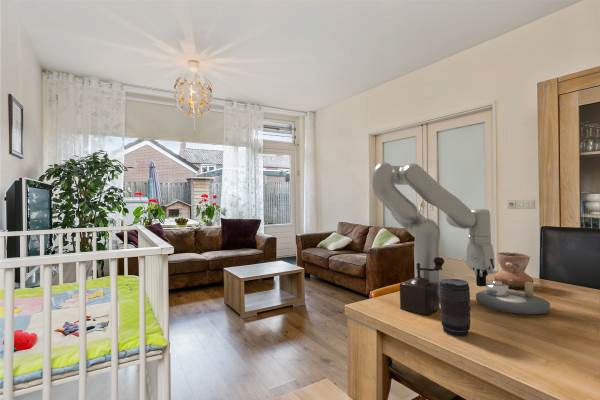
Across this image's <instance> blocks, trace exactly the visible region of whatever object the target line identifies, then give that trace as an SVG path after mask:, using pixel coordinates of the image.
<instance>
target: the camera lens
mask: <svg viewBox="0 0 600 400" xmlns="http://www.w3.org/2000/svg"><path fill="white" fill-rule="evenodd" d="M470 289H471V288H470V285H469V281H467V280H464V279H459V278H443V279H442V278H441V279H440V285H439V293H440V300H439V304H440V321H441V326H442V330H443V332H444V334H445V333H446V334H447V335H450V336H453V337H459V338H460V337H461V338H462V337H467V336H468V335H469V330H470V329H471V309H472V308H471V304H470V301H471V293H470V291H471V290H470Z"/></svg>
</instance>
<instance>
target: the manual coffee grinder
mask: <svg viewBox="0 0 600 400" xmlns="http://www.w3.org/2000/svg"><path fill="white" fill-rule="evenodd" d="M433 262H434V263H435V267H434V269H427V268H420V263H417V264H416V265H417V267H416V269H417V277H416V278H415V277H413V278H411V279H408V280H405V281H403V282H400V283H399V302H400V303H399V304H400V305H399V308H400V310H403V311H406V312H410V313H414V314H418V315H422V316H427V317H428V316H430V315H432V314H434V313H436V312H437V311H438V310H439V309H441V305H440V300H439V283H437V282H431V281H429V279H425V278H422V277H421V276H420V270H426V271H439V270H440V271H443V265H444V264H445V259H444V258H442V257H440V256H439V257H436V258H434V260H433Z"/></svg>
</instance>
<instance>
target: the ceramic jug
mask: <svg viewBox="0 0 600 400" xmlns="http://www.w3.org/2000/svg"><path fill="white" fill-rule="evenodd" d="M496 258H497V261H498V264H499V266H500V268H501V270H500V271H498V272H496V273H495V274H494V275H493V280H494V281H501V282H502V284H506V285H508V288H513V289H525V282H532V283H533V284H534V278H532V277H531V276H530V275H529V274H527V273H526V272H525V271H526V269H527V266H528V265H529V262H530V260H531V259H530V258H531V256H530V255H528V254H525V253H520V252H510V251H509V252H508V251H505V252H497V253H496Z"/></svg>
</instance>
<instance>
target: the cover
mask: <svg viewBox="0 0 600 400" xmlns="http://www.w3.org/2000/svg"><path fill="white" fill-rule="evenodd" d="M485 287H486V290H487V294H488V295H491V296H497V297H507V296H509V291H510V290H509V287H508V285H506V284H502V282H501V281H495V280H492V281H491V282H486V286H485Z"/></svg>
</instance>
